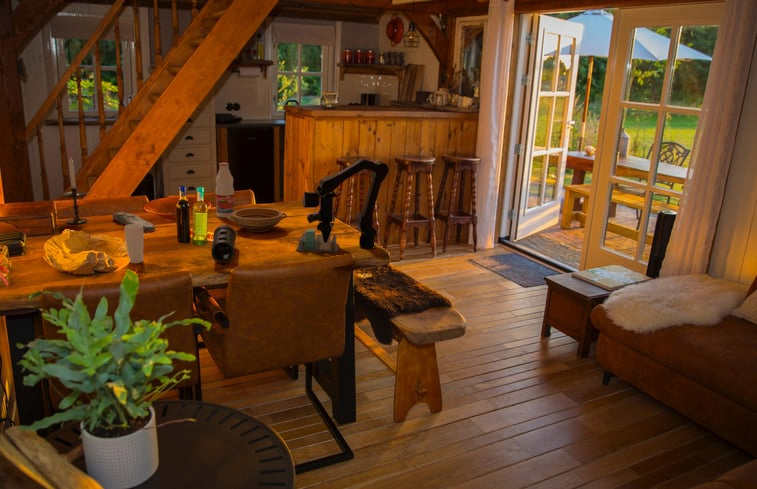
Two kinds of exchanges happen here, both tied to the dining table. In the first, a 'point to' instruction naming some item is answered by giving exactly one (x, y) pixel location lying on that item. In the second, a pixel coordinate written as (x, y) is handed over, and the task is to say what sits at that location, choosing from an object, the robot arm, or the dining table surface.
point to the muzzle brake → (223, 244)
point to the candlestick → (74, 196)
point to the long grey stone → (133, 221)
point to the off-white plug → (325, 245)
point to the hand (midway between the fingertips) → (325, 241)
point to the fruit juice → (224, 192)
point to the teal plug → (309, 238)
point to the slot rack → (317, 245)
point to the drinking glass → (134, 242)
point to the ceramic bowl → (257, 218)
